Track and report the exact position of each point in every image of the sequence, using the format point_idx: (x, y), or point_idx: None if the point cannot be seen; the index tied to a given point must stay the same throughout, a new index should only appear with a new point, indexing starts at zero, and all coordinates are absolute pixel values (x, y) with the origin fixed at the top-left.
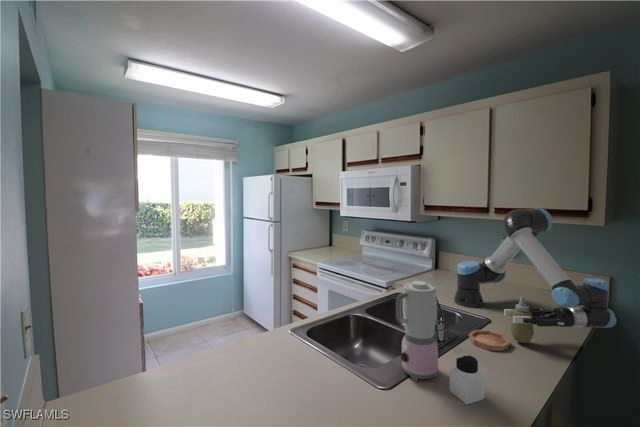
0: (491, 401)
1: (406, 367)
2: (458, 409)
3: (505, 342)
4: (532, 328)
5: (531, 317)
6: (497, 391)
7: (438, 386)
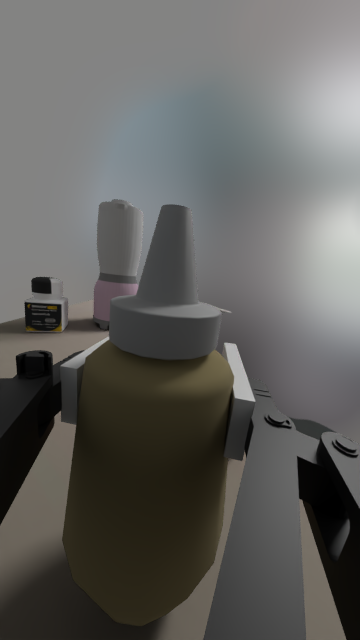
0: (16, 333)
1: None
2: None
3: None
4: (69, 497)
5: (61, 370)
6: (20, 343)
7: (81, 323)
